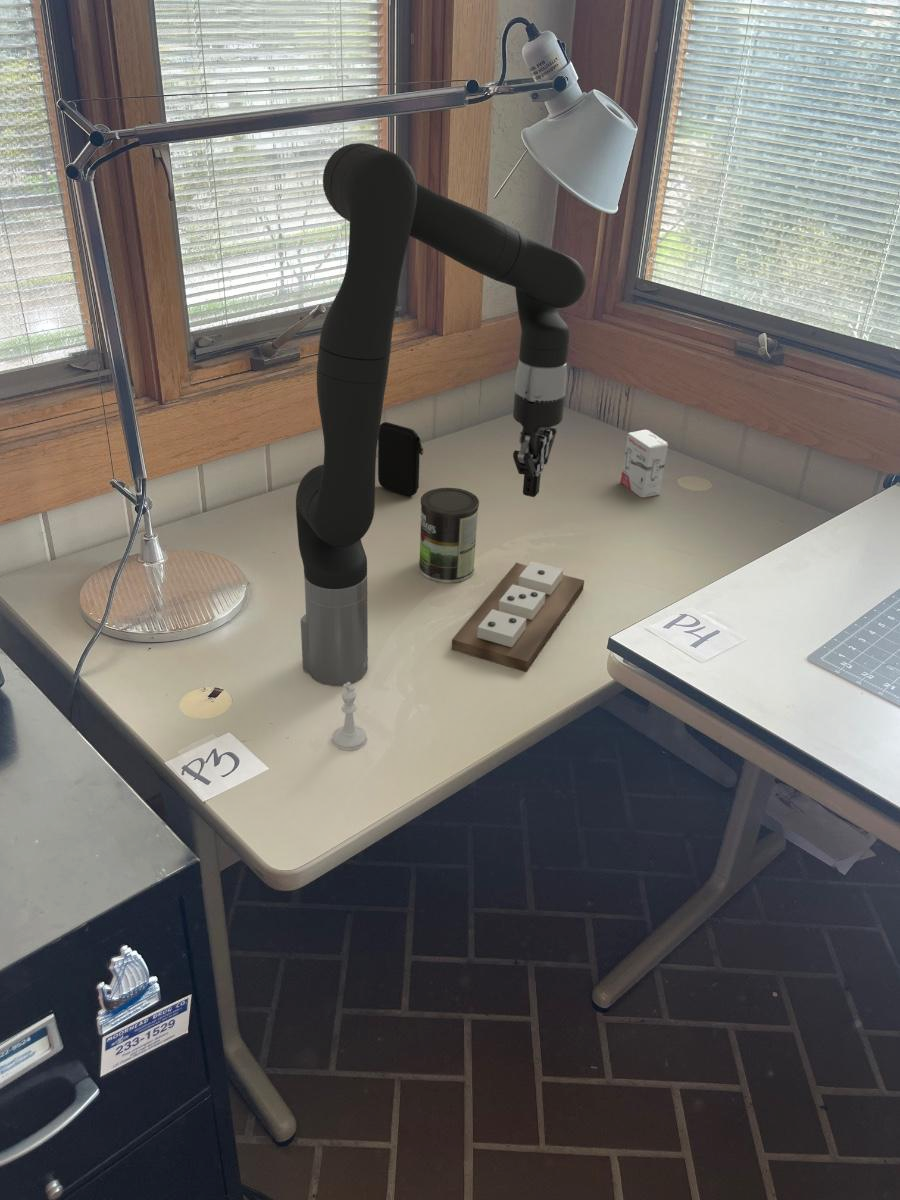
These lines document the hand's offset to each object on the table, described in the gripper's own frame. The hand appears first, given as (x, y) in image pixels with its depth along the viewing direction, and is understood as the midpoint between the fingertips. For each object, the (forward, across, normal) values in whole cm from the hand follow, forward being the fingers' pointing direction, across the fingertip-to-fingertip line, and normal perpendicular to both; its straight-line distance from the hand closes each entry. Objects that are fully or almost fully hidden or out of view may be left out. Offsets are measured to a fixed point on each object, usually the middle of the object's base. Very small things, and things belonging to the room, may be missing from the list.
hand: (530, 494), depth 160 cm
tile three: (+21, 0, 0) cm, 21 cm away
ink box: (+23, -60, +4) cm, 64 cm away
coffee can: (+23, -9, -18) cm, 31 cm away
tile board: (+23, 0, 0) cm, 23 cm away
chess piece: (+24, +41, -10) cm, 48 cm away
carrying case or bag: (+23, -33, -40) cm, 56 cm away
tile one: (+21, -9, 0) cm, 23 cm away
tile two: (+21, +9, 0) cm, 23 cm away
